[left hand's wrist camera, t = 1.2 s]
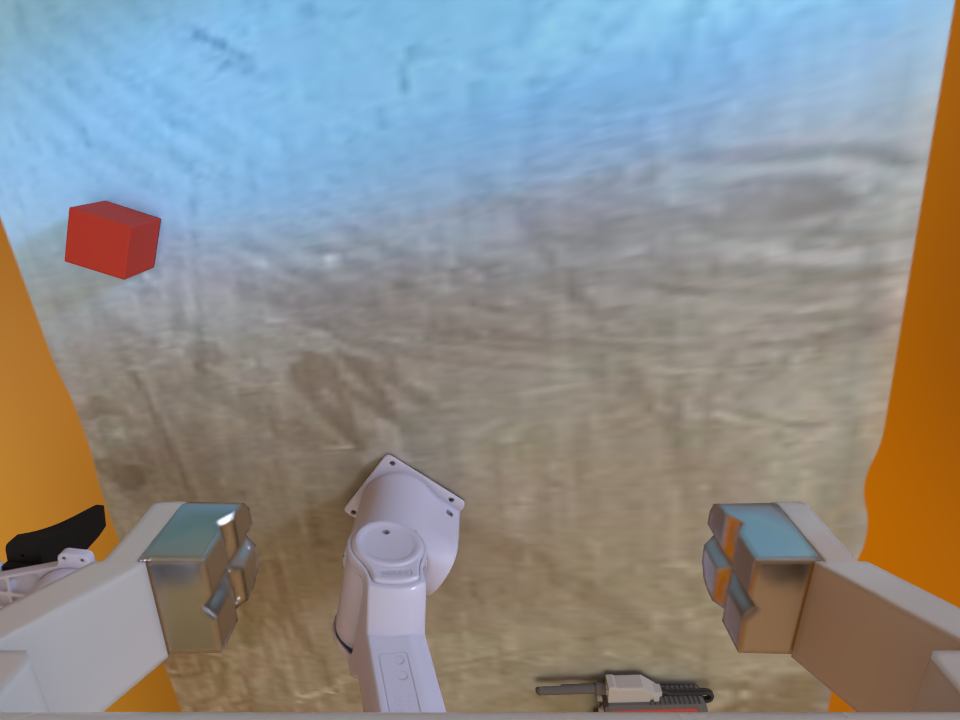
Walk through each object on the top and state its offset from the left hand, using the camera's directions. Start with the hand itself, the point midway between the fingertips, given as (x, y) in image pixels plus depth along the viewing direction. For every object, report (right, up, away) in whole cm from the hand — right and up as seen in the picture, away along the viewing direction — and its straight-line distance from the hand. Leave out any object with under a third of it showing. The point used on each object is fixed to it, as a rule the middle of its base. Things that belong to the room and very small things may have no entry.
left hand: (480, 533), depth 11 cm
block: (-30, +14, +40) cm, 51 cm away
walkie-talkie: (+16, -36, +59) cm, 71 cm away
